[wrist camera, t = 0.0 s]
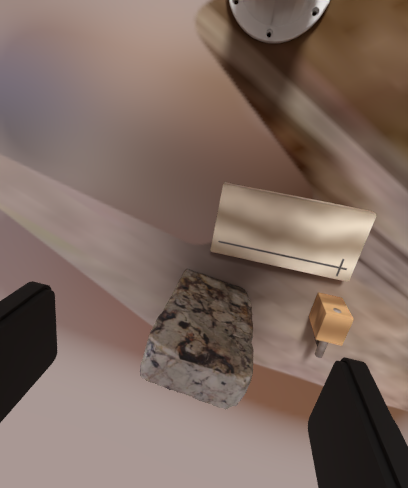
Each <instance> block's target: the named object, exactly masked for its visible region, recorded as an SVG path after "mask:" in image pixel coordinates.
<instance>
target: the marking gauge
mask: <svg viewBox="0 0 408 488" xmlns="http://www.w3.org/2000/svg"><path fill="white" fill-rule="evenodd" d="M309 319H310V322H311V325H312V329H313V332H314V335H315V341H316V344H317V349H316V352H315V356H317V357H318V358H322V356H323V354H324V351H325V349H326V347H327V344H328V343H333V344H337V345H341V346H342V344H343V342H344V340H345V338H346V336H347V333H348V331H349V329H350V327H351V325H352V322H353V320H354V319H353V317H352V315H351V314H350V312H349V310H348V308H347V306H346V304H345V302H344V300H343V299H342V298H340V297H336V296H331V295H327V294H323V293H318V294H317V296H316V299H315V302H314V304H313V307H312V310H311V312H310V315H309ZM319 340H320V341H319Z"/></svg>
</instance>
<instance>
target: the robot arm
mask: <svg viewBox="0 0 408 488" xmlns="http://www.w3.org/2000/svg"><path fill="white" fill-rule="evenodd" d="M235 1H238V4H237V5H235V4H234V3H235ZM329 2H330V0H229V4H230V7H231V10H232V13H233V15H234V17H235V19H236V21H237V23H238V24H239V26H240V27H241V28H242V29H243V30H244V32H246V33H247V34H248V35H250V36H251V37H252V38H254V39H256V40H259V41H261V42H265V43H283V42H287V41H290V40H292V39H295V38H297V37H299V36H300V35H302V34H303V33H305V32H306V31H308V30H309V29H310V28H311V27H312V26H313V25H314V24H315V23H316V22H317V21H318V19H319V18H320V17H321V15H322V14H323V12H324V11H325V9H326V7H327V6H328V4H329ZM313 12H315V13H316V16H313V15H312V13H313ZM268 33H270V34H271V37H267V34H268ZM56 355H57V335H56V314H55V294H54V292H53V291H51V288H50V286H48V285H45V284H41V283H37V282H29V283H27V284H25V285H24V286H23V287H21V288H19V289H18V290H16V291H15V292H13V293H12V294H10V295H9V296H8V297H6V298H4V299H3V300H1V301H0V422H1V421H2V420H3V419H4V418H5V417H6V416H7V414H8V413H9V412H10V411H11V410H12V409H13V407H14V406H15V405H16V404H17V403H18V402H19V401H20V400H21V398H22V397H23V396H24V395H25V394H26V393H27V392H28V390H29V389H30V388H31V387H32V386H33V385H34V384H35V382H36V381H37V380H38V379H39V378H40V377H41V375H42V374H43V373H44V372H45V371H46V370H47V369H48V367H49V366H50V365H51V364H52V363H53V361H54V359H55V358H56ZM308 432H309V438H310V444H311V449H312V455H313V460H314V465H315V471H316V477H317V482H318V487H319V488H408V446H407V444H406V442H405V440H404V438H403V436H402V434H401V432H400V430H399V428H398V426H397V424H396V423H395V421H394V420H393V418H392V416H391V414H390V412H389V410H388V408H387V406H386V404H385V402H384V399H383V397H382V395H381V393H380V391H379V389H378V387H377V385H376V383H375V381H374V379H373V377H372V375H371V373H370V371H369V369H368V367H367V365H366V364H365V363H364V362H361V361H357V360H353V359H349V358H343V359H341V361H336V362H335V363H334V365H333V367H332V369H331V372H330V374H329V376H328V378H327V380H326V382H325V385H324V387H323V389H322V391H321V393H320V396H319V398H318V400H317V402H316V404H315V406H314V409H313V411H312V413H311V415H310V417H309V421H308Z"/></svg>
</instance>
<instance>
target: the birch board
mask: <svg viewBox="0 0 408 488" xmlns="http://www.w3.org/2000/svg"><path fill="white" fill-rule="evenodd" d="M376 216H377V215H376V214H375V213H373V212H372V211H368V210H363V209H358V208H353V207H348V206H343V205H338V204H333V203H328V202H323V201H318V200H313V199H307V198H303V197H298V196H292V195H288V194H282V193H278V192H273V191H268V190H263V189H258V188H253V187H247V186H243V185H237V184H232V183H227V182H224V184H223V188H222V193H221V198H220V203H219V208H218V214H217V219H216V224H215V229H214V235H213V239H212V245H211V250H210V251H211V252H215V253H220V254H224V255H229V256H233V257H238V258H242V259H247V260H251V261H256V262H260V263H265V264H269V265H274V266H278V267H283V268H288V269H292V270H297V271H301V272H306V273H310V274H315V275H319V276H324V277H328V278H333V279H337V280H342V281H346V282H349V280H350V277H351V275H352V273H353V270H354V268H355V265H356V263H357V261H358V258H359V256H360V254H361V251H362V249H363V246H364V244H365V242H366V239H367V237H368V235H369V232H370V230H371V228H372V225H373V223H374V220H375V218H376Z"/></svg>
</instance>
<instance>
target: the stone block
mask: <svg viewBox="0 0 408 488" xmlns="http://www.w3.org/2000/svg"><path fill="white" fill-rule="evenodd" d="M251 309H252V307H251V303H250V300H249V299H248V296H247V293H246V291H245V290H244V289H242V288H240V287H238V286H234V285H231V284H228V283H225V282H222V281H220V280H217V279H214V278H211V277H208V276H206V275H203V274H199V273H196V272H193V271H191V270H188V269H186V270H185V271H184V273H183V275H182V277H181V279H180V281H179V282H178V284H177V286H176V288H175V290H174V292H173V294H172V296H171V298H170V299H169V301H168V303H167V305H166V307H165V308H164V311H163V312H162V314H161V315H160V316H159V317H158V318H157V321H156V322H155V325H154V327H153V329H152V330H151V332H150V334H149V339H148V342H147V345H146V349H145V353H144V357H143V360H142V362H141V366H140V376H141V377H142V378H144V379H145V380H146V381H149V382H152V383H155V384H157V385H160V386H163V387H165V388H167V389H169V390H174V391H177V392H180V393H184V394H186V395H189V396H192V397H193V398H195V399H197V400H199V401H203V402H205V403H209V404H212V405H214V406H217V407H221V408H224V409H228V408H229V407H231V406H236V405H237V404H238V402H239V401H240V400H241V399H242V397H243V396H244V395H245V393H246V391H247V388H248V386H249V384H250V381H251V377H252V373H253V347H252V343H251V342H252V337H253V323H252V311H251ZM253 315H254V314H253Z"/></svg>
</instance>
